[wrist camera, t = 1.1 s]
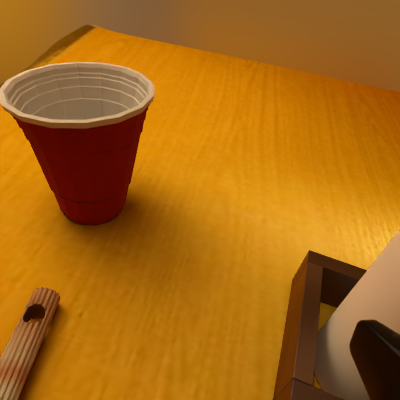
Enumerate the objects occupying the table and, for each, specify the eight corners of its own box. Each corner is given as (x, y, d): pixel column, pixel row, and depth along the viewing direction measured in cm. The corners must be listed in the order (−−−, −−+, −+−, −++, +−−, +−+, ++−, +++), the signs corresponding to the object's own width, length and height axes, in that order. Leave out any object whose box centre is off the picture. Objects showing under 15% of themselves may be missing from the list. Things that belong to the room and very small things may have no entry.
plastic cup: (85, 155, 38) (74, 43, 30) (169, 194, 35) (181, 82, 27) (0, 211, 30) (-45, 81, 22) (99, 267, 28) (88, 141, 20)
